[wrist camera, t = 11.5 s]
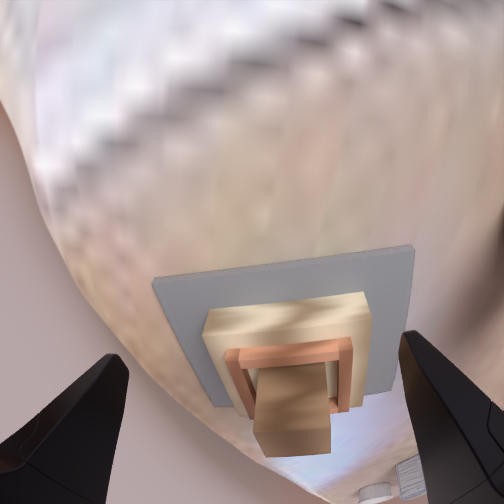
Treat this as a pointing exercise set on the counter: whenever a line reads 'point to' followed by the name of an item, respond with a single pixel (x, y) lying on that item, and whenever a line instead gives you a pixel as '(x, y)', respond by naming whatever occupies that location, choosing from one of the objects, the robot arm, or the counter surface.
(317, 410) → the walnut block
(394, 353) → the grey base plate
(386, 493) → the ramekin
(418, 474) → the medicine box
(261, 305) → the socket plinth
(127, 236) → the counter surface
